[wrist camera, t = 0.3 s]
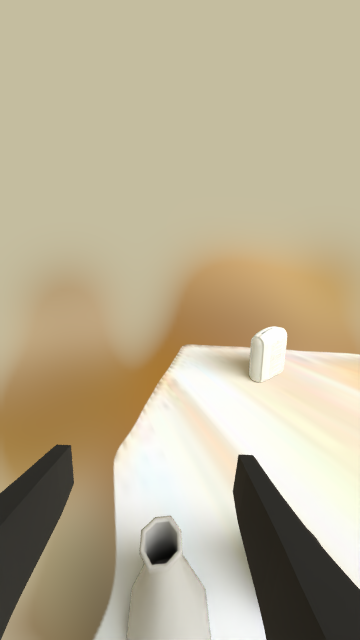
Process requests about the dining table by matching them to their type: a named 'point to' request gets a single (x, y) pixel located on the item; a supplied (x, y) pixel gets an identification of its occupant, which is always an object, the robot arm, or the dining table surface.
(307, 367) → the dining table surface
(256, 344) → the white rounded slab
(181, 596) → the flask
